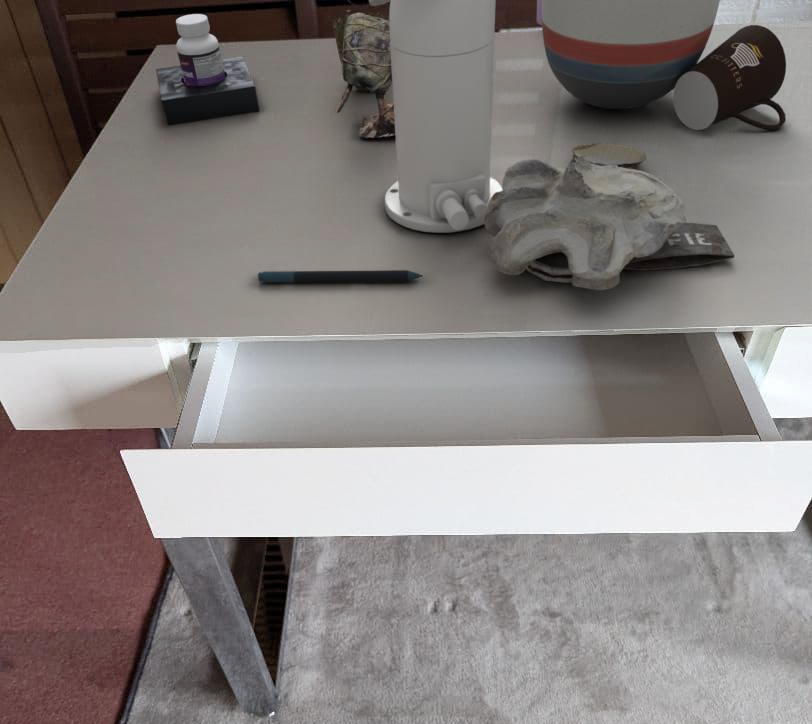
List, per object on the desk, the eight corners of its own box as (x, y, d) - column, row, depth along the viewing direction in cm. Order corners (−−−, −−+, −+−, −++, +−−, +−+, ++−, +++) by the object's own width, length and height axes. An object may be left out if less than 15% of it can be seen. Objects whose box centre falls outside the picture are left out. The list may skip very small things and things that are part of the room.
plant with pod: (353, 112, 102) (335, -81, 87) (438, 118, 100) (433, -80, 85) (330, 138, 97) (306, -62, 82) (418, 145, 95) (410, -61, 80)
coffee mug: (671, 50, 90) (731, 15, 93) (661, 125, 97) (717, 90, 100) (756, 83, 84) (818, 45, 87) (738, 160, 91) (796, 123, 94)
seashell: (645, 180, 90) (587, 147, 92) (658, 153, 87) (598, 120, 89) (613, 197, 84) (552, 161, 87) (626, 169, 82) (563, 133, 84)
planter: (625, 148, 91) (660, -86, 75) (501, 101, 102) (508, -112, 86) (734, 97, 99) (787, -125, 83) (607, 59, 110) (633, -144, 94)
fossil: (710, 169, 72) (654, 144, 61) (684, 295, 76) (627, 295, 65) (538, 163, 82) (460, 141, 70) (523, 277, 85) (447, 273, 74)
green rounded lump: (397, 77, 110) (393, 10, 104) (391, 98, 105) (387, 28, 99) (343, 78, 111) (337, 12, 105) (335, 99, 106) (328, 30, 100)
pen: (423, 280, 75) (423, 269, 75) (422, 282, 74) (422, 271, 74) (260, 281, 77) (259, 270, 76) (258, 283, 76) (256, 272, 75)
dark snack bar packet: (737, 272, 73) (742, 252, 71) (528, 290, 73) (529, 271, 72) (712, 229, 78) (716, 209, 76) (516, 246, 78) (517, 227, 77)
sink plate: (259, 110, 104) (255, 85, 102) (167, 125, 103) (161, 100, 101) (247, 79, 112) (243, 56, 110) (162, 92, 111) (155, 68, 108)
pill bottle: (185, 99, 109) (165, 17, 101) (223, 91, 110) (206, 9, 103) (195, 112, 105) (175, 28, 98) (234, 103, 106) (218, 20, 99)
